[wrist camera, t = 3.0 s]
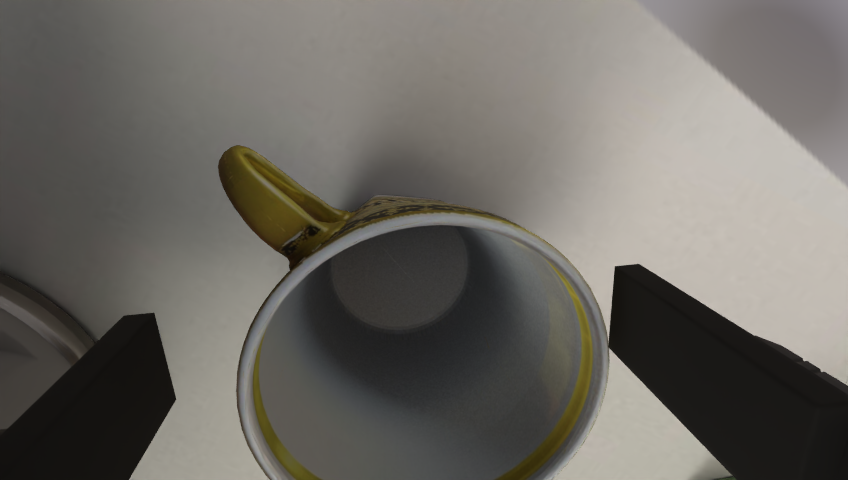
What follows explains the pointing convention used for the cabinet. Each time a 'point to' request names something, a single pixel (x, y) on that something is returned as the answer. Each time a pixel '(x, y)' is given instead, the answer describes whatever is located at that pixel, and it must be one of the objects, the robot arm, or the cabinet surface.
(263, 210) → the ceramic cup
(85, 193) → the cabinet surface
